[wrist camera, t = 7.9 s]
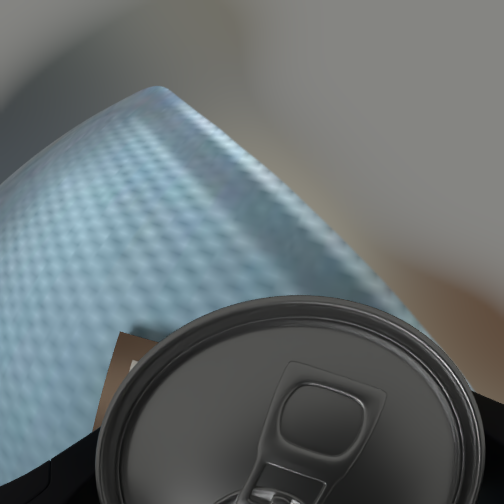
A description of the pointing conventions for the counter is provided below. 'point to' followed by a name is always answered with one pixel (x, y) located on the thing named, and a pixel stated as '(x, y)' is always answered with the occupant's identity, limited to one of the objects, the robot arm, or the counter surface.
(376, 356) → the can
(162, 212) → the counter surface
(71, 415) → the counter surface
